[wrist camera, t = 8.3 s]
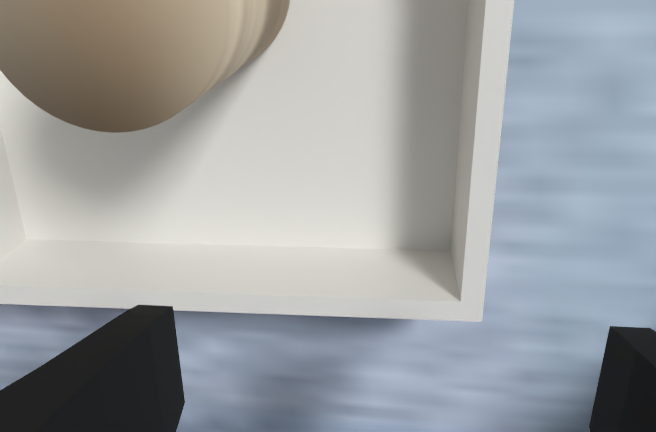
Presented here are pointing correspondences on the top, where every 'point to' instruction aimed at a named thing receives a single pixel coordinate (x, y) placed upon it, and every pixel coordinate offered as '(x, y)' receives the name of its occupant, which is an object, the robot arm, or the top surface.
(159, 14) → the birch cylinder
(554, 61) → the top surface
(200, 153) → the tray
